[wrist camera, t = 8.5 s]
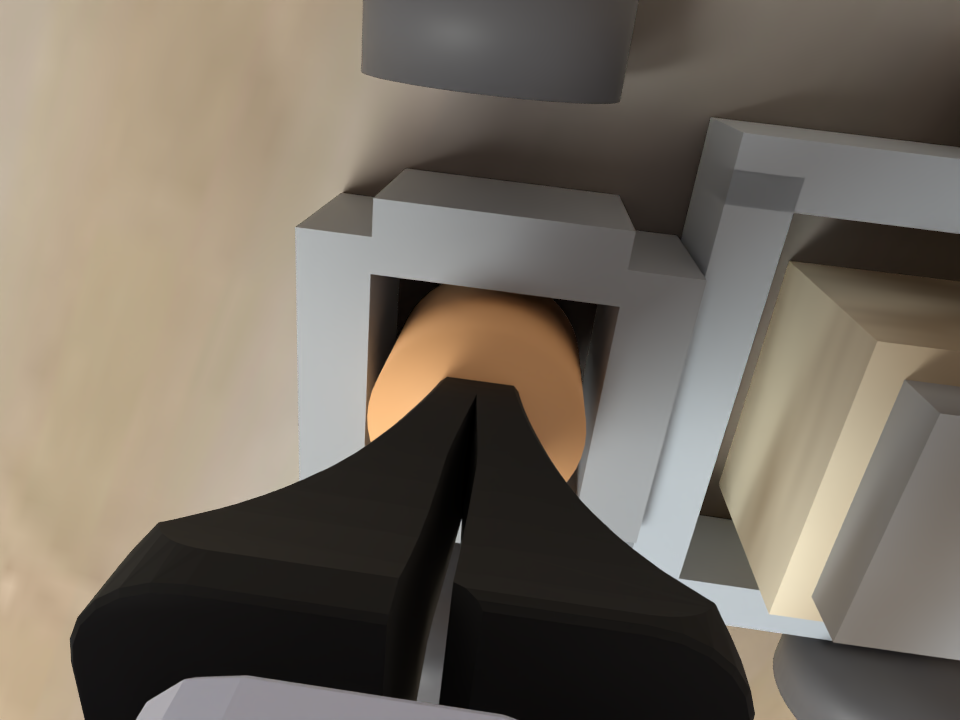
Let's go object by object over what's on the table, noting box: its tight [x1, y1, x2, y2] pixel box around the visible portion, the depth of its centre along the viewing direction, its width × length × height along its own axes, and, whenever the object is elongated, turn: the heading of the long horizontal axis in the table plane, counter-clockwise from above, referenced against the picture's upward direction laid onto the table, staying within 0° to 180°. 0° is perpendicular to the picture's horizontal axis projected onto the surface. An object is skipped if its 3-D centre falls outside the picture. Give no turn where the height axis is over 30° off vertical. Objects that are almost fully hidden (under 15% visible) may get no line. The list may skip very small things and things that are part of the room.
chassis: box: [295, 0, 960, 720], centre depth 14 cm, size 17×15×4 cm
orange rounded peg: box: [367, 284, 586, 482], centre depth 14 cm, size 4×4×4 cm
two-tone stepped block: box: [719, 261, 960, 660], centre depth 13 cm, size 4×6×6 cm
